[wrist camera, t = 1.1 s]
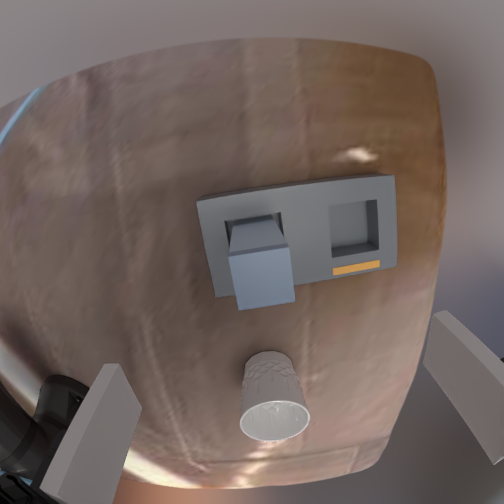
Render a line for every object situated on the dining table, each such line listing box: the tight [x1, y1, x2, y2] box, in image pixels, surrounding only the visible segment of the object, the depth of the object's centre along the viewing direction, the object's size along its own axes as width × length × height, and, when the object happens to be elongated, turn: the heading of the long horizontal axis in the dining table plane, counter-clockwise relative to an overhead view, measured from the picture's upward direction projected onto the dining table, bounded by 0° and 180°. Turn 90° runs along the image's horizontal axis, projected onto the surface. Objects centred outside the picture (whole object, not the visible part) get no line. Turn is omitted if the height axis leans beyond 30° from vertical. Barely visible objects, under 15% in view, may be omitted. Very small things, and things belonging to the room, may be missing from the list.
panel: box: [196, 173, 397, 298], centre depth 30 cm, size 20×10×4 cm, turn 99°
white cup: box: [240, 351, 310, 441], centre depth 33 cm, size 8×8×10 cm
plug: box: [228, 215, 295, 310], centre depth 25 cm, size 4×4×12 cm
